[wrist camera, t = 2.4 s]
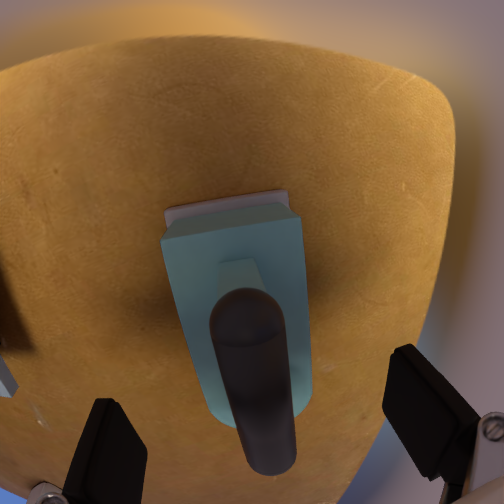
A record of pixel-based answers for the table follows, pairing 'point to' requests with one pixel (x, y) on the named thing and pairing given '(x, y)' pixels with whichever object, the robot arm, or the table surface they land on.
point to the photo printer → (41, 491)
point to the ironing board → (6, 380)
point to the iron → (245, 315)
